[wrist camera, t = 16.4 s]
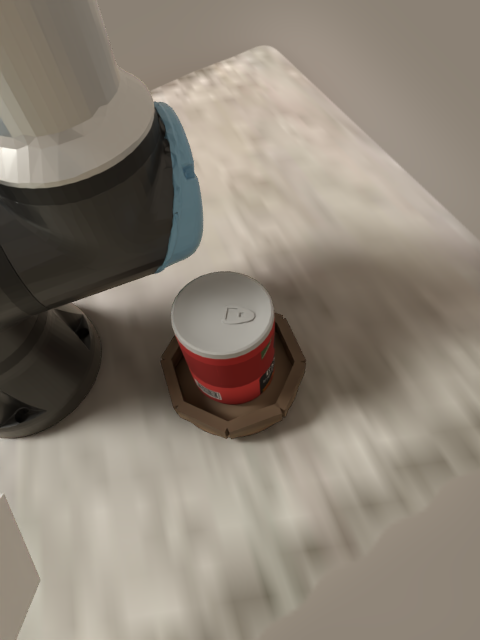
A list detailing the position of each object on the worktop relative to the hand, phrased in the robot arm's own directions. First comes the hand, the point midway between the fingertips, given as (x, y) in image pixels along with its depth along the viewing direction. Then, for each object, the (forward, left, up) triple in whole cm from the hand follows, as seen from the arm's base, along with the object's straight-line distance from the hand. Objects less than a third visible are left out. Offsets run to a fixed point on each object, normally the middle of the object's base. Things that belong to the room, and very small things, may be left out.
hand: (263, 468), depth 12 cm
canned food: (-9, +12, -27) cm, 31 cm away
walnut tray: (-10, +12, -28) cm, 32 cm away
